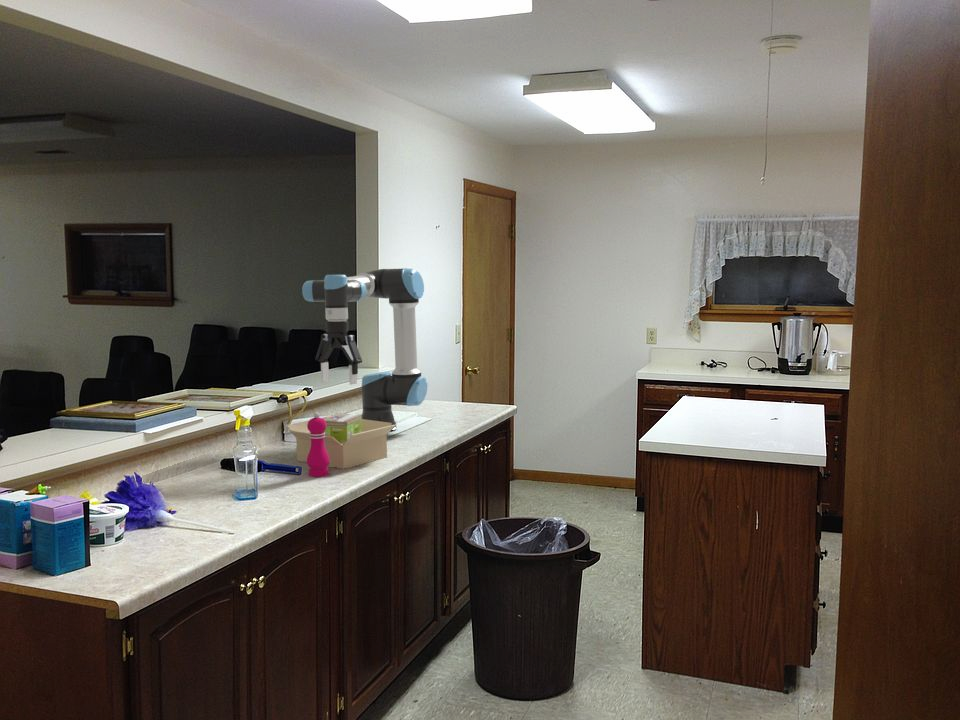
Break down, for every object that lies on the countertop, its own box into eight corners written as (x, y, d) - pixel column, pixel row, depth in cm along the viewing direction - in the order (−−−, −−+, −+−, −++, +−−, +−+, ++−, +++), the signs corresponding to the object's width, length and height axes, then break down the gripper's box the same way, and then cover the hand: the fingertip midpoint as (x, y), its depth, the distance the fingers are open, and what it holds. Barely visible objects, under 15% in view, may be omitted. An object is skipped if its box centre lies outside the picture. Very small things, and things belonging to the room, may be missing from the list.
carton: (339, 446, 310) (338, 414, 309) (404, 456, 291) (403, 422, 290) (279, 461, 287) (277, 426, 286) (345, 473, 268) (344, 436, 267)
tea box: (348, 464, 281) (346, 421, 279) (320, 463, 283) (318, 420, 281) (363, 454, 295) (362, 413, 294) (336, 453, 297) (335, 412, 296)
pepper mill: (322, 478, 263) (320, 415, 260) (302, 476, 265) (300, 414, 263) (334, 472, 269) (332, 411, 267) (315, 471, 272) (312, 410, 270)
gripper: (303, 320, 288) (305, 381, 291) (355, 321, 273) (357, 386, 276) (319, 318, 294) (322, 379, 297) (371, 320, 279) (373, 383, 282)
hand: (339, 382), depth 286 cm, fingers open, 13 cm apart
